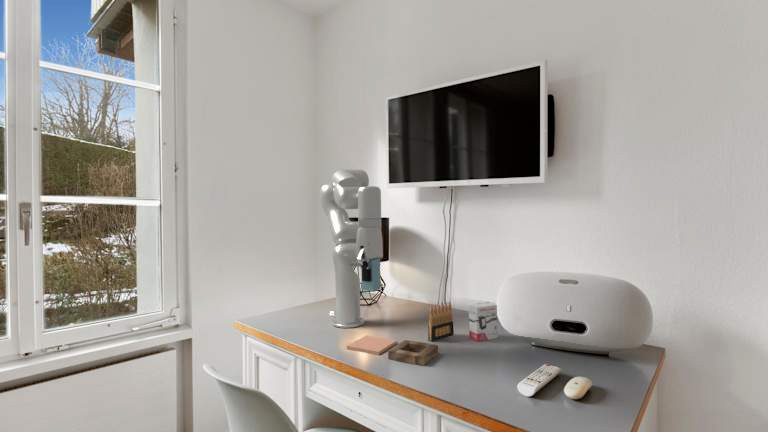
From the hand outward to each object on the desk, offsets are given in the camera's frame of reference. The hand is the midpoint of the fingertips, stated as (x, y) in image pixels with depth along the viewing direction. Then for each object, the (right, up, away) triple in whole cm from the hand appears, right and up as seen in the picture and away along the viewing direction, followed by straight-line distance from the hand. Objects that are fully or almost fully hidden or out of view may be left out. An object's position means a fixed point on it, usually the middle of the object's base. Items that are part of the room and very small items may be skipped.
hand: (370, 279), depth 131 cm
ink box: (+38, -21, +6) cm, 44 cm away
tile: (0, -22, 0) cm, 22 cm away
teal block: (0, -3, 0) cm, 3 cm away
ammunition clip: (+24, -22, +7) cm, 33 cm away
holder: (+13, -22, -9) cm, 27 cm away
